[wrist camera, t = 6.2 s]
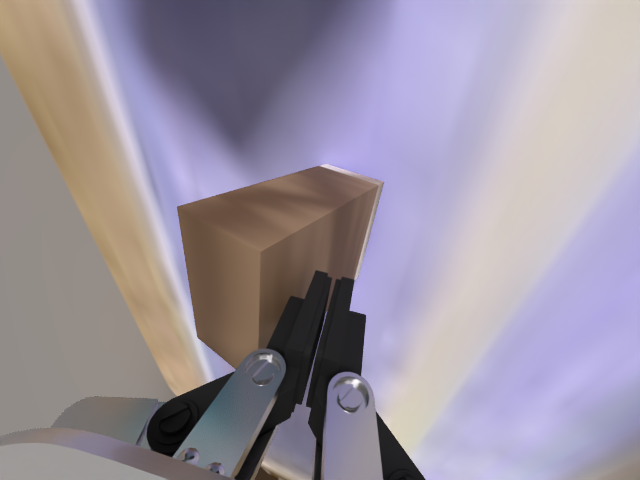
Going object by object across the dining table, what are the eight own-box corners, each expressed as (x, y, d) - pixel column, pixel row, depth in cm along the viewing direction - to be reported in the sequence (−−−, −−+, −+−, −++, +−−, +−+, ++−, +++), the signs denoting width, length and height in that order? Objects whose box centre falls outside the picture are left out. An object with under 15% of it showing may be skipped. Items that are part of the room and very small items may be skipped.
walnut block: (383, 182, 15) (260, 251, 8) (358, 276, 19) (257, 387, 11) (325, 164, 17) (177, 206, 9) (312, 253, 20) (197, 337, 13)
